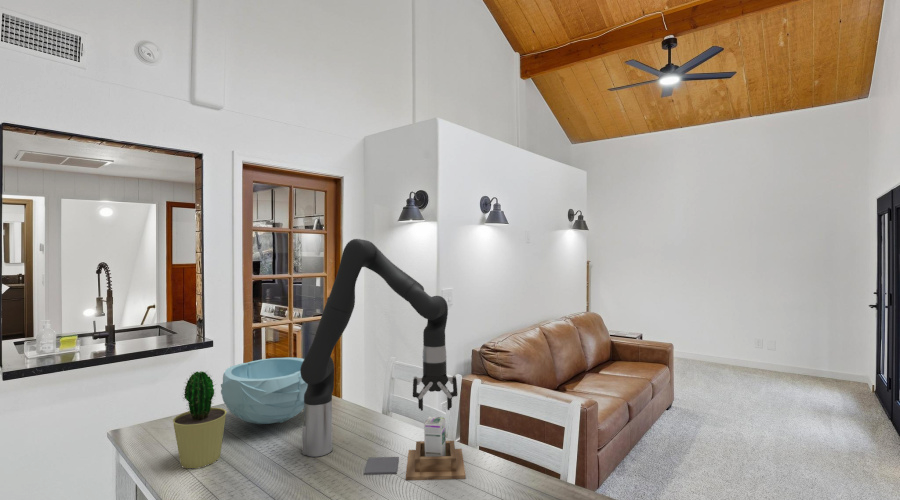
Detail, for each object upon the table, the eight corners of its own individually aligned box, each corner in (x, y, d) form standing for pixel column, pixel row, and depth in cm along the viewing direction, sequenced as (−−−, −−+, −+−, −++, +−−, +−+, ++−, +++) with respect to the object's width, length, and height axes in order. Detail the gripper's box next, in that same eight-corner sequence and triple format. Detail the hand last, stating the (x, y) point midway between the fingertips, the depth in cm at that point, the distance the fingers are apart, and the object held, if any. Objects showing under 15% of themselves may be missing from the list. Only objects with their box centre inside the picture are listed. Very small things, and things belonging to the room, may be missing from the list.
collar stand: (405, 480, 136) (405, 463, 136) (408, 452, 154) (408, 438, 154) (465, 478, 137) (465, 462, 137) (461, 451, 155) (461, 437, 155)
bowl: (259, 450, 157) (259, 386, 156) (203, 428, 175) (202, 372, 175) (335, 417, 186) (334, 364, 186) (280, 402, 205) (279, 353, 205)
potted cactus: (237, 453, 154) (236, 365, 154) (199, 475, 140) (197, 378, 139) (202, 447, 159) (201, 361, 159) (161, 467, 145) (160, 373, 144)
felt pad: (363, 474, 140) (363, 472, 140) (368, 459, 150) (368, 457, 150) (396, 473, 140) (396, 471, 140) (398, 458, 150) (398, 456, 150)
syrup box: (442, 470, 142) (442, 424, 142) (424, 468, 143) (423, 422, 143) (446, 461, 148) (446, 417, 147) (428, 460, 149) (428, 416, 149)
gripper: (411, 362, 141) (412, 414, 141) (457, 361, 142) (458, 413, 142) (412, 356, 149) (413, 406, 149) (456, 355, 149) (456, 404, 149)
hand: (435, 409), depth 145 cm, fingers open, 8 cm apart
